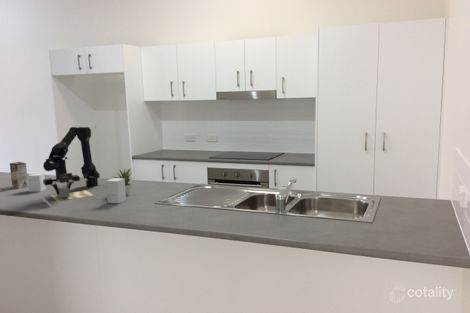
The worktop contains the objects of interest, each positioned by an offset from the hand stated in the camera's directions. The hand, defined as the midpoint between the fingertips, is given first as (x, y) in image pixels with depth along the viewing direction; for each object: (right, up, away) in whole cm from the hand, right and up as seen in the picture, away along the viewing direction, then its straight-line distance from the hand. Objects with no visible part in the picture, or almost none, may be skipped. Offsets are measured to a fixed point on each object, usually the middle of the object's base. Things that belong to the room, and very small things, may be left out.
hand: (63, 194), depth 224 cm
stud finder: (0, -1, 0) cm, 1 cm away
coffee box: (-43, +2, +33) cm, 54 cm away
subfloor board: (+4, -2, +3) cm, 5 cm away
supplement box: (+34, -3, -8) cm, 35 cm away
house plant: (+34, -1, +8) cm, 35 cm away
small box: (-26, 0, +21) cm, 33 cm away
